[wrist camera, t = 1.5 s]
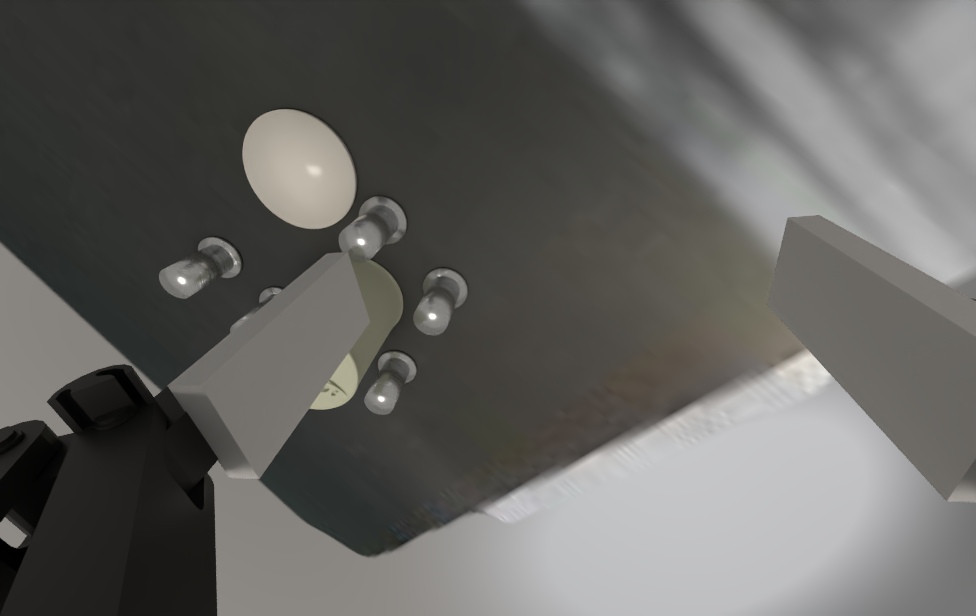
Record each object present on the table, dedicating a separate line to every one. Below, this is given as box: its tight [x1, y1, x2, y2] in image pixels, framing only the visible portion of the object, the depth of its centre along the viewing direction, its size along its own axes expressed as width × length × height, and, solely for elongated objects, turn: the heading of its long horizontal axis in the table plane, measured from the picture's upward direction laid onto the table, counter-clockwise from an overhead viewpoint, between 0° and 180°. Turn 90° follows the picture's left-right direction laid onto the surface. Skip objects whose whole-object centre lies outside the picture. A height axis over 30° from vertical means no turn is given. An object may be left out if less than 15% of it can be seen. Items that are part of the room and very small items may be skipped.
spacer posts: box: [159, 196, 468, 415], centre depth 38 cm, size 25×19×6 cm
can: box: [309, 259, 403, 409], centre depth 36 cm, size 9×9×12 cm
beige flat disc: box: [243, 109, 357, 229], centre depth 35 cm, size 10×10×1 cm
